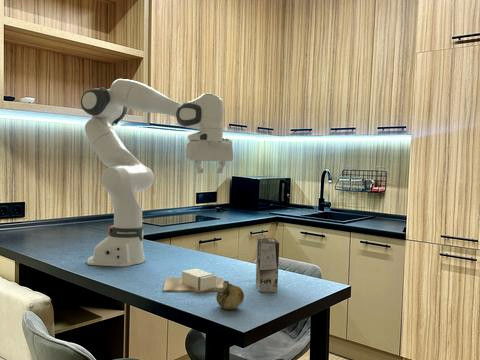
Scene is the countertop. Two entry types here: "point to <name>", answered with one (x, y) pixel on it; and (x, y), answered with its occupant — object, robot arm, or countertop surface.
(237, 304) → the onion
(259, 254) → the coffee box
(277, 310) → the countertop surface
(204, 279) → the card box
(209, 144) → the robot arm
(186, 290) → the mat
